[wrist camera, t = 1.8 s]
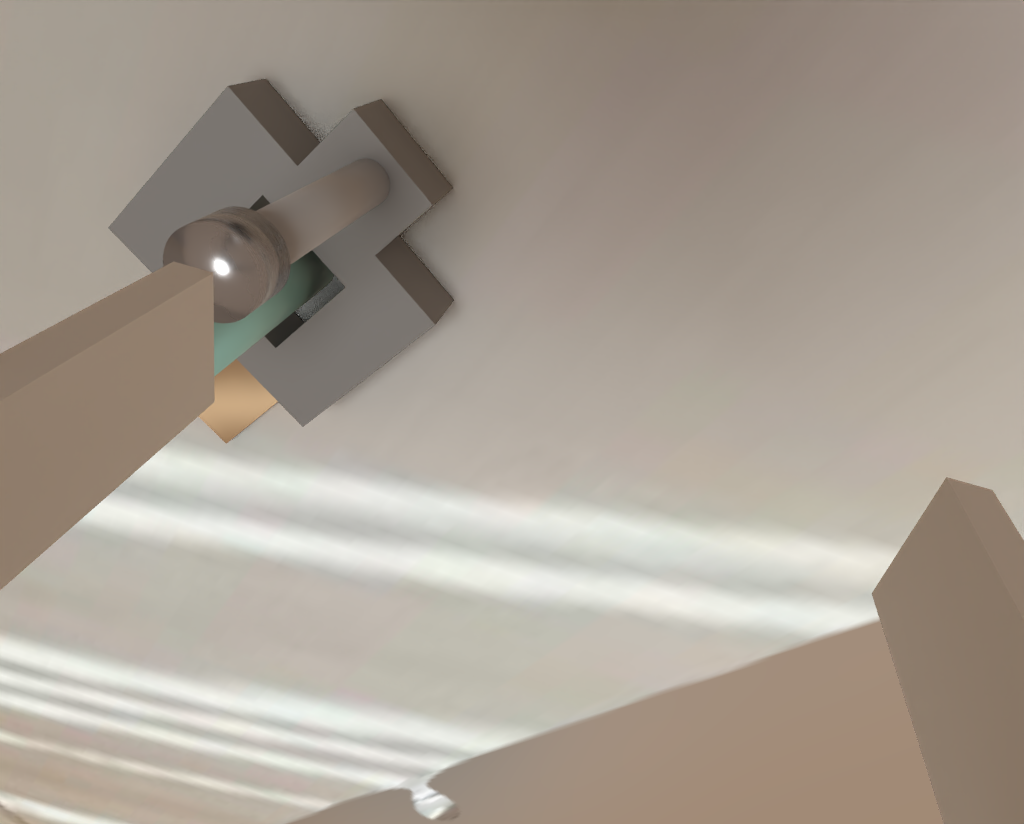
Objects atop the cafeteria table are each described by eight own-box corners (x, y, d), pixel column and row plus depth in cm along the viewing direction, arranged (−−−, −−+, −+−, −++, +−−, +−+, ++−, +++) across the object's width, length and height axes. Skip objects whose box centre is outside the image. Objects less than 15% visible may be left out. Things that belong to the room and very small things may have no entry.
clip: (238, 186, 27) (187, 207, 24) (309, 264, 28) (268, 293, 25) (70, 365, 32) (13, 399, 29) (134, 425, 33) (85, 464, 30)
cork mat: (125, 336, 52) (119, 339, 51) (206, 251, 47) (201, 254, 47) (230, 439, 54) (226, 443, 54) (317, 368, 50) (313, 372, 49)
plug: (249, 247, 46) (71, 349, 33) (296, 199, 44) (127, 288, 31) (303, 306, 48) (154, 428, 34) (352, 262, 46) (213, 374, 32)
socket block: (150, 210, 46) (-76, 301, 33) (316, 19, 39) (117, 32, 25) (328, 397, 51) (195, 548, 37) (508, 257, 43) (427, 379, 29)
